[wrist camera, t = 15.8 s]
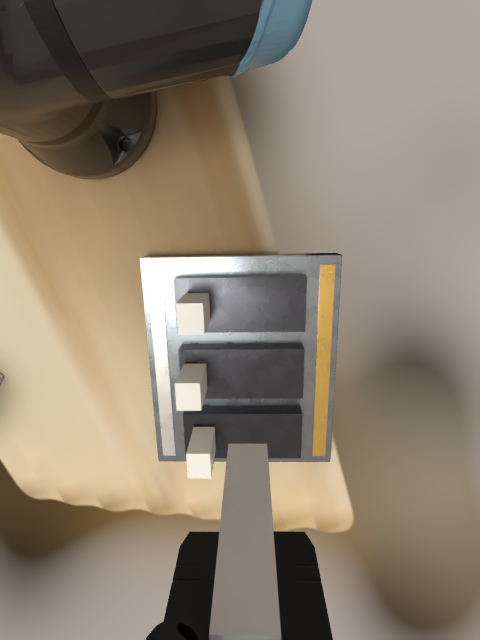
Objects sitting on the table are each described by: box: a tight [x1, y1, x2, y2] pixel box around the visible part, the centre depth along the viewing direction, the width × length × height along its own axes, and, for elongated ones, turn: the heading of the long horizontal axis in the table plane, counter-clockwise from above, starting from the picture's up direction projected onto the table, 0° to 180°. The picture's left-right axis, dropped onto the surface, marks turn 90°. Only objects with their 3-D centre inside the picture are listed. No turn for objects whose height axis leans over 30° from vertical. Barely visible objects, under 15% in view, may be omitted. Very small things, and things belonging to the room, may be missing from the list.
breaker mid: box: [175, 363, 207, 411], centre depth 37 cm, size 3×2×5 cm
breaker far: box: [186, 427, 216, 478], centre depth 39 cm, size 3×2×5 cm
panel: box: [140, 253, 342, 462], centre depth 42 cm, size 26×22×4 cm
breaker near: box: [176, 293, 210, 335], centre depth 35 cm, size 3×2×5 cm
